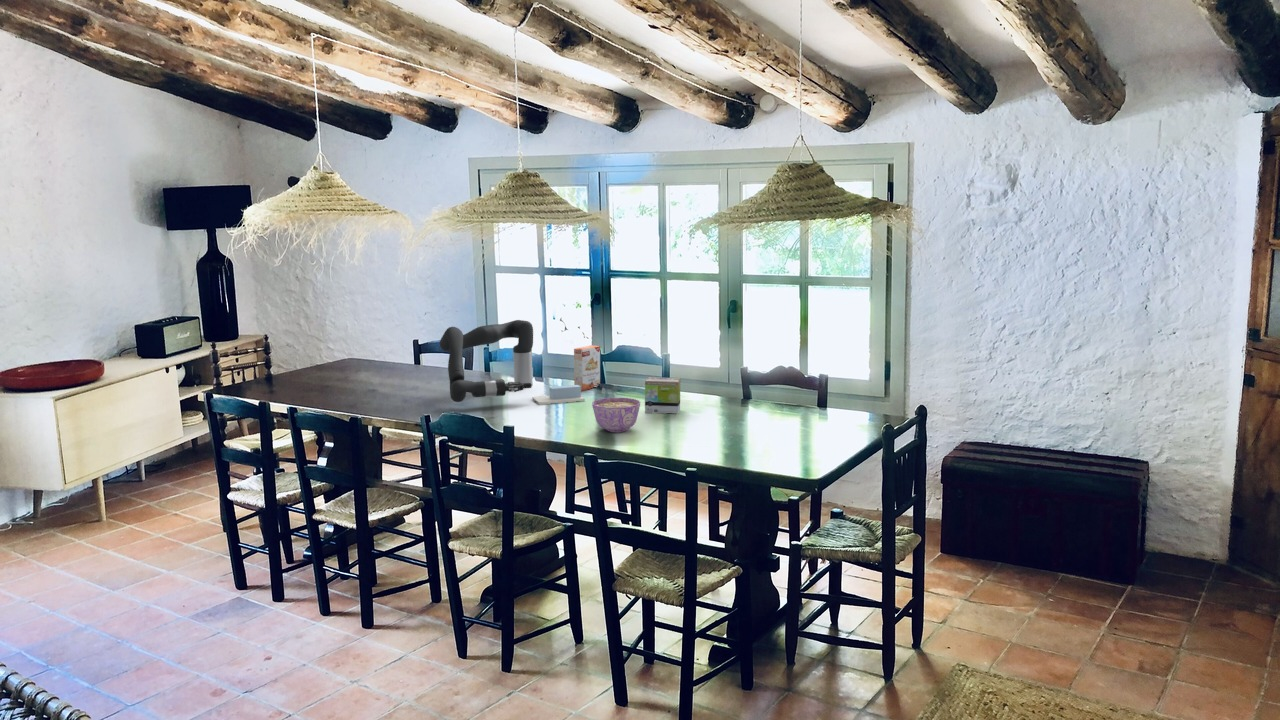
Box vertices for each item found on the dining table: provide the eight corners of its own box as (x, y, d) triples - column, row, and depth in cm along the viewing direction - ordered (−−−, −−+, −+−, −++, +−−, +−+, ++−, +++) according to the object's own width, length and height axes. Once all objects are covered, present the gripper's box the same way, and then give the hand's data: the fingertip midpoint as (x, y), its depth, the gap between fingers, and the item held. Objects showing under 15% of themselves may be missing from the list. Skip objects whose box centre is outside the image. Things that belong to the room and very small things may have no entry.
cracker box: (583, 391, 486) (582, 349, 482) (573, 390, 489) (572, 348, 486) (601, 386, 497) (600, 345, 493) (592, 385, 500) (591, 344, 497)
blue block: (549, 386, 466) (577, 384, 470) (549, 397, 467) (578, 395, 471) (551, 388, 461) (580, 386, 466) (552, 399, 462) (581, 397, 467)
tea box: (644, 413, 436) (644, 380, 434) (647, 408, 446) (647, 376, 443) (678, 414, 434) (678, 381, 431) (680, 409, 444) (680, 377, 441)
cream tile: (532, 399, 468) (532, 396, 468) (577, 395, 475) (576, 393, 475) (538, 404, 456) (538, 402, 456) (584, 401, 463) (584, 398, 463)
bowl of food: (636, 436, 395) (636, 408, 393) (587, 435, 399) (587, 407, 397) (644, 425, 415) (644, 398, 413) (597, 423, 418) (597, 396, 416)
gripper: (491, 393, 461) (528, 390, 467) (497, 398, 449) (534, 395, 454) (491, 377, 460) (527, 374, 465) (496, 382, 447) (534, 379, 453)
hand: (531, 385), depth 460 cm, fingers closed
